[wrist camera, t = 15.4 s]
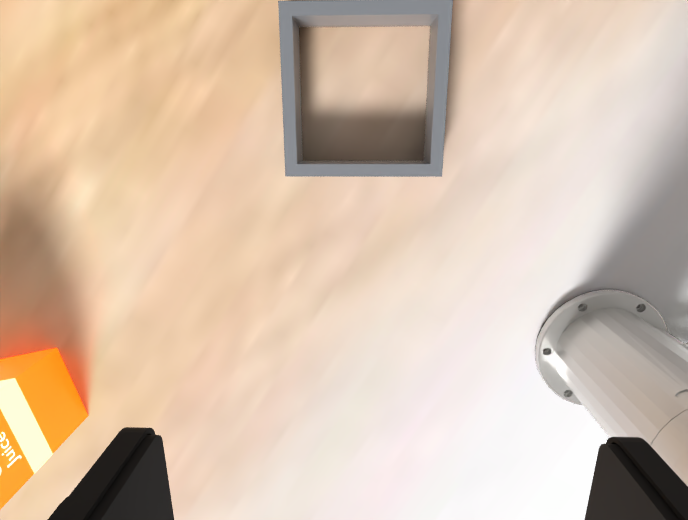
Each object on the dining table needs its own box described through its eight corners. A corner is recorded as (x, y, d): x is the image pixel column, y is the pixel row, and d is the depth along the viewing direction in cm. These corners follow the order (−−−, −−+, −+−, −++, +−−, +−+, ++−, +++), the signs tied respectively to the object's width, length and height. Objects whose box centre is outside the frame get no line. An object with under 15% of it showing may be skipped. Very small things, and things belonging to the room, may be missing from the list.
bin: (442, 12, 36) (452, -2, 32) (433, 171, 40) (441, 176, 36) (286, 14, 37) (278, 0, 33) (292, 171, 40) (285, 176, 37)
